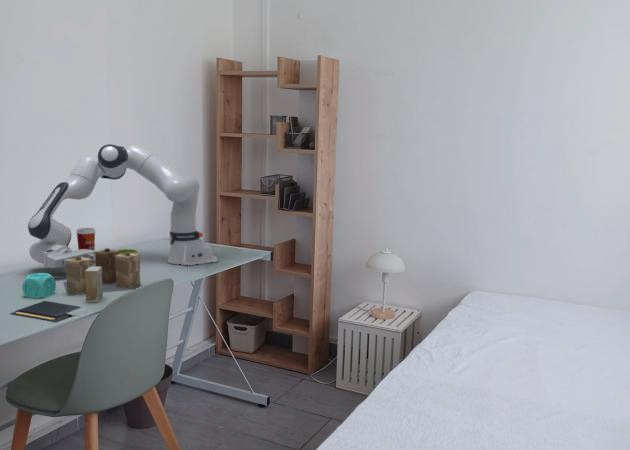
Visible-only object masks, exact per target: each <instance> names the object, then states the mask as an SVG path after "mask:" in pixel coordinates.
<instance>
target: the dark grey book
mask: <svg viewBox="0 0 630 450" xmlns="http://www.w3.org/2000/svg"><path fill="white" fill-rule="evenodd" d="M81 308H82V306H78V305H72V304H68V303H67V304H66V303H59V302H55V301H48V300H43V301H39V302H37V303H34V304H31V305H27V306H26V307H23V308H19V309H17V310H15V311H13V312H10V313H9V315H11V314H12V316H17V317H23V318H29V319H34V318H35V320H39V319H40V321H45V320H46V321H47V322H51V323H59V322H61V321H65V320H67V319H70V318H71V317H74V316H76V314H69V313H70V312H73V311H75V310H79V309H81ZM46 321H45V322H46Z"/></svg>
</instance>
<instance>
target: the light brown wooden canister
mask: <svg viewBox="0 0 630 450" xmlns="http://www.w3.org/2000/svg"><path fill="white" fill-rule="evenodd" d="M89 267H93V263H92V259H89V258H83V257H81V256H77V257H76V258H72V259H68V260H66V267H65V271H66V275H65V276H66V282H67V292H70V293H74V294H79V295H78V296H81V295H80V294H83V293H86V283H85V270H86V269H87V268H89ZM67 292H66V293H67ZM83 295H84V294H83Z"/></svg>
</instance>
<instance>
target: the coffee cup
mask: <svg viewBox="0 0 630 450" xmlns="http://www.w3.org/2000/svg"><path fill="white" fill-rule="evenodd" d="M96 232H97V231H96V230H95V228H94V227H80V228H77V229H76V232H75V233H76V237H77V238H76V239H77V247H78V249H77V250H80V249H87V250H94V251H95V248H96V245H95V244H96V243H95V241H96ZM95 252H96V251H95ZM94 262H95V260H94V261H92V264H93V263H94Z"/></svg>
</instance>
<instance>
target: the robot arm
mask: <svg viewBox="0 0 630 450" xmlns="http://www.w3.org/2000/svg"><path fill="white" fill-rule="evenodd" d="M127 169H129V170H132V171H134V172H136V173H137V174H139V176H142V177H143V178H144V179H146V180H147V181H149V182H150V183H152V184H153V185H154V186H155V187H156V188H158V189H159V191H160V192H162V193H163V194H164V195H165V197H166V199H168V200H169V201H170V202H172V203H173V204H172V209H171V212H170V231H169V244H170V245H169V252H168V253H169V254H168V258H167V263H169V264H172V265H179V264H181V266H186V265H188V266H189V265H190V266H196V264H198V265H203V264H210V263H211V262H212V263H217V262H218V257H216V256H215V255H214V254H213V249H212V248H211V246H210V245H209V244H207V243H206V241H203V240H202V239H201V238H203V236H204V234H203V232H201V231H198V230H196V229H197V228H196V227H197V226H196V225H197V224H196V222H197V221H196V220H197V219H196V214H197V205H198V198H199V191H200V182H199V180H198V179H197V178H196V177H194V176H192V175H188V174H185V175H181V174H178V173H177V171H175V170H174V169H173V168H172V167H171V166H170V164H169V163H167V162H166V161H164V160H163V159H162V158H160V157H158V155H156V154H154V153H153V152H151V151H150V150H148V149H146V148H145V147H142V146H140V145H137V144H131V145H129V146H127V148H125V147H124V146H121V145H120V146H119V145H116V144H105V145H102V146H101V147H100V149H99V150H98V152H97V157H92V156H82V157H81V158H80V159H79V160H78V161H77V162H76V165H75V166H74V167H73V169H72V171H71V173H70V174H69V177H68V178H67V179H66V180H65V181H64V182H59V183H58V184H57V185H56V186H55V187H54V188H53V190H52V191H51V192H50V194H49V196H48V197H47V199H45V201H44V202H43V203H42V205H41V206H40V208H39V209H38V211H37V212H36V213H35V214H34V215H33V216H32V217H31V218H30V220H29V221H28V223H27V229H28V233H29V234H30V236H31V237H34V238H36V239H39V240H38V241H36V242H34V243H32V244H31V245H30V247H29V249H28V250H29V251H28V252H29V256H30V258H31V259H32V260H33V261H35V262H37V263H40V264H43V268H45V269H50V268H51V269H58V268H66V260H68V259H72V258H76V257H77V256H81V257H83V258H89V259H92V261H94V262H95V261H96V259H95V252H96V251H94V250H87V249H80V250H78V249H76V250H72V248H70V246H69V245H70V242H71V239H72V230H71V229H70V228H69V227H67V226H66V225H64V224H63V223H61V222H59V221H57V220H56V219H54V218H53V217H54V214H55V212H56V211H57V209H58V208H59V207H60V205H61V203H62V202H64V200H66V199H71V200H78V201H79V200H84V199H87V198H89V196H90V195H91V194H92V193H93V191H94V189H95V186H96V185H97V183H98V180H99V179H100V178H101V179H108V180H112V181H113V180H119V179H122V177H123V176H124V175H125V174H126V171H127ZM212 263H211V264H212ZM190 266H189V267H190Z"/></svg>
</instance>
